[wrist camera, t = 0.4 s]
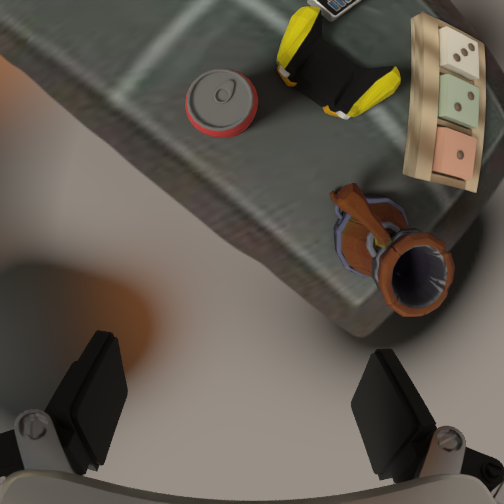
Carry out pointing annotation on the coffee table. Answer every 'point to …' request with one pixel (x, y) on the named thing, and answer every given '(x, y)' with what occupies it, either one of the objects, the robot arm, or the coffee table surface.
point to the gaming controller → (329, 69)
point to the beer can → (221, 103)
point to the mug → (391, 252)
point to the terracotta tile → (454, 153)
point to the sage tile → (458, 101)
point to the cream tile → (458, 53)
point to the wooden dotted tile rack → (436, 105)
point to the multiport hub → (333, 7)
